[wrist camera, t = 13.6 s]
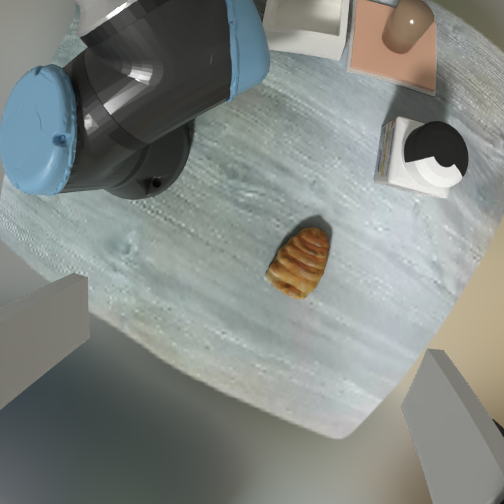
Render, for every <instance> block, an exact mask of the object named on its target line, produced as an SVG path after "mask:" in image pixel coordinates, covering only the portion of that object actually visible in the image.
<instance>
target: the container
mask: <svg viewBox="0 0 504 504" xmlns="http://www.w3.org/2000/svg"><path fill="white" fill-rule="evenodd" d="M467 167H468V151H467V147H466V144H465V142H464V140H463V138H462V136H461V135H460V134H459V132H458V131H457V130H456V129H455V128H453V127H452V126H450V125H449V124H447V123H444V122H439V121H434V122H429V123H427V124H424V123H421V122H418V121H414V120H411V119H408V118H404V117H401V116H398V117H397V118H395V119H394V120H392V121H391V122H389V123H388V124H386V125H385V126H383V127H382V128H381V135H380V142H379V149H378V156H377V162H376V169H375V175H374V182H375V183H376V184H381V185H385V186H389V187H393V188H397V189H400V190H404V191H408V192H412V193H415V194H419V195H423V196H431V197H438V198H447V197H448V195H449V189H450V187H451V186H453V185H455V184H457V183H458V182H459V181H460V180H461V179H462V178H463V176H464V175H465V173H466V170H467Z"/></svg>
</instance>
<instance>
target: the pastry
mask: <svg viewBox="0 0 504 504" xmlns="http://www.w3.org/2000/svg"><path fill="white" fill-rule="evenodd" d="M328 250H329V242H328V239H327V235H326V233H325V232H323V231H322V230H320V229H318V228H316V227H309V228H303V229H302V230H301V231H300V232H299V233H297V234H296V235H295V236H293V237H291V238H290V240H289V241H288V242H287V243H286V244H285V245H284V246H283V247H281V248H280V249H279V250H278V253H277V256H276V257H275V259H274V261H273V263H272V264H271V265H270V268H269V269H268V270H267V271H266V273H265V276H266V278H267V280H268V281H269V282H270V283H271V284H273V286H274V287H275V288H277V289H278V290H280V291H281V292H283V293H284V294H286V295H287V296H291V297H293V298H296V299H304V298H306V297H307V295H308V294H309V293H310V292H312V291H313V290H314V289H315V288H316V286H317V284H318V282H319V280H320V278H321V277H322V275H323V274H324V270H325V267H326V261H327V255H328Z"/></svg>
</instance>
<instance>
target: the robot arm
mask: <svg viewBox="0 0 504 504" xmlns="http://www.w3.org/2000/svg"><path fill="white" fill-rule="evenodd" d="M74 1H75V2H76V3H77V5H78V6H79V7H80V10H81V16H80V21H79V26H78V31H77V34H78V36H79V37H80V39H81V40H82V41H83V42H84V43H85V44H86V45H87V46H88V47H87V48H86V49H85V50H84V51H83V52H81V53H80V54H79V55H78V56H77V57H75V58H74V59H73V60H72V61H71V62H69V63H68V64H67V65H66V66H65V67H63V68H61V67H59V66H57V65H54V64H50V65H46V66H38V67H35V68H33V69H31V70H30V71H28V72H27V73H26V74H25V75H24V76H23V77H22V78H21V79H20V80H19V81H18V83H17V84H16V85H15V87H14V88H13V90H12V92H11V94H10V96H9V98H8V100H7V103H6V105H5V108H4V112H3V115H2V121H1V127H0V155H1V160H2V164H3V167H4V170H5V173H6V175H7V177H8V178H9V180H10V181H11V183H12V184H13V185H14V186H15V187H16V188H17V189H20V190H21V191H23V192H24V193H27V194H34V195H46V196H52V195H55V194H59V193H68V192H77V191H87V190H98V189H104V190H106V191H108V192H109V193H111V194H113V195H115V196H117V197H120V198H124V199H130V200H137V199H145V198H150V197H153V196H156V195H158V194H160V193H161V192H163V191H165V190H166V189H167V188H168V187H170V186H171V185H172V184H173V183H174V182H175V180H176V179H177V178H178V176H179V175H180V173H181V172H182V170H183V168H184V166H185V163H186V160H187V157H188V152H189V132H188V127H187V124H186V123H187V122H188V121H190V120H192V119H194V118H196V117H197V116H199V115H201V114H203V113H205V112H206V111H208V110H210V109H212V108H214V107H216V106H218V105H220V104H222V103H223V102H225V101H226V102H230V101H232V100H233V99H234V98H235V96H237V95H238V94H240V93H242V92H244V91H246V90H248V89H249V88H251V87H253V86H255V85H257V84H259V83H260V82H262V81H263V80H264V79H265V77H266V76H267V74H268V72H269V67H270V52H269V46H268V42H267V38H266V34H265V31H264V28H263V24H262V22H261V19H260V16H259V13H258V11H257V8H256V6H255V4H254V2H253V0H74ZM88 315H89V314H88V277H85V276H82V275H78V274H75V273H72V274H70V275H68V276H66V277H64V278H61V279H59V280H57V281H55V282H53V283H50V284H48V285H46V286H44V287H42V288H40V289H37V290H35V291H33V292H31V293H29V294H27V295H25V296H23V297H21V298H18V299H17V300H14V301H12V302H10V303H8V304H6V305H4V306H2V307H0V410H1V409H2V408H3V407H4V406H5V405H6V404H8V403H9V402H10V401H11V400H13V399H14V398H15V397H16V396H17V395H19V394H20V393H21V392H22V391H24V390H25V389H26V388H27V387H28V386H30V385H31V384H32V383H33V382H34V381H36V380H37V379H38V378H40V377H41V376H42V375H43V374H44V373H45V372H47V371H48V370H49V369H51V368H52V367H53V366H54V365H56V364H57V363H58V362H60V361H61V360H62V359H63V358H65V357H66V356H67V355H68V354H70V353H71V352H72V351H73V350H75V349H76V348H77V347H78V346H80V345H81V344H82V343H83V342H85V341H86V340H87V339H89V338H90V333H89V316H88ZM401 409H402V411H403V414H404V416H405V419H406V422H407V425H408V427H409V430H410V433H411V436H412V439H413V442H414V445H415V448H416V450H417V454H418V456H419V459H420V463H421V466H422V468H423V472H424V475H425V478H426V482H427V485H428V488H429V491H430V495H431V498H432V502H433V504H504V429H503V427H502V426H500V425H499V424H498V423H497V422H496V421H495V420H494V419H492V418H491V417H490V416H489V414H488V412H487V411H486V409H485V408H484V406H483V405H482V403H481V402H480V401H479V399H478V397H477V396H476V395H475V393H474V392H473V390H472V389H471V387H470V386H469V385H468V383H467V382H466V380H465V379H464V377H463V376H462V375H461V373H460V372H459V371H458V369H457V368H456V366H455V365H454V364H453V363H452V361H451V360H450V358H449V357H448V356H447V354H446V353H445V352H444V350H436V349H427V350H426V353H425V355H424V358H423V360H422V363H421V365H420V367H419V369H418V372H417V374H416V376H415V378H414V380H413V382H412V385H411V387H410V389H409V391H408V393H407V395H406V397H405V399H404V401H403V403H402V405H401Z"/></svg>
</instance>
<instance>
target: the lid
mask: <svg viewBox="0 0 504 504" xmlns="http://www.w3.org/2000/svg"><path fill="white" fill-rule="evenodd" d="M350 68H352V69H356V70H360V71H364V72H368V73H372V74H376V75H380V76H384V77H387V78H391V79H394V80H398V81H401V82H404V83H408V84H411V85H414V86H417V87H420V88H423V89H426V90H429V91H432V92H433V91H434V90H435V78H436V28H435V22H434V15H433V12H432V10H431V9H430V7H429V6H428V5H427V4H426V3H424V2H423V1H421V0H400V2H399V4H398V6H397V7H396V8H393V7H390V6H386V5H382V4H379V3H375V2H371V1H367V0H356V11H355V24H354V35H353V46H352V55H351V65H350Z"/></svg>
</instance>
